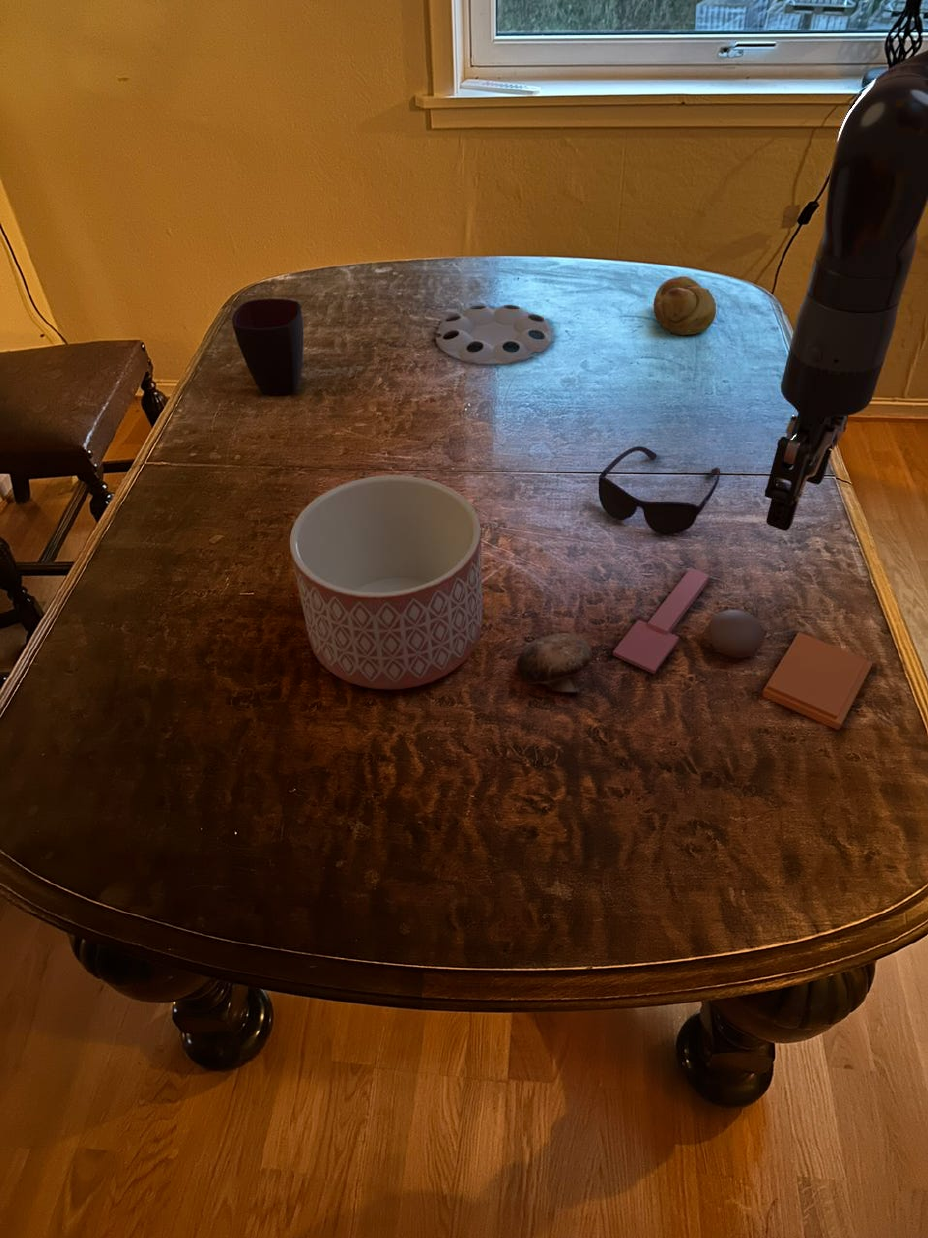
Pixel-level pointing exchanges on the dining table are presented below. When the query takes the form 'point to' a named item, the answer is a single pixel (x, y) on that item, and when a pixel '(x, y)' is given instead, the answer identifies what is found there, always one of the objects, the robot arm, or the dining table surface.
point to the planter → (390, 580)
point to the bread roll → (684, 306)
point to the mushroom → (554, 661)
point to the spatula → (660, 626)
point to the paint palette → (493, 334)
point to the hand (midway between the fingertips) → (794, 502)
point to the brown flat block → (817, 680)
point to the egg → (735, 633)
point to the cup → (271, 343)
